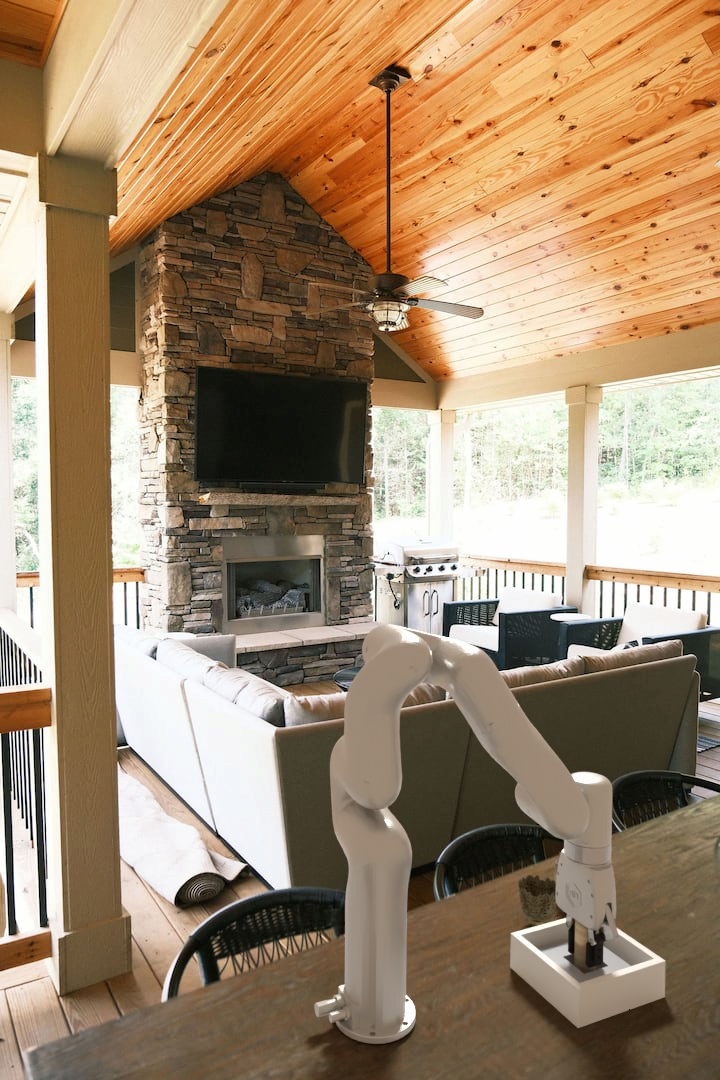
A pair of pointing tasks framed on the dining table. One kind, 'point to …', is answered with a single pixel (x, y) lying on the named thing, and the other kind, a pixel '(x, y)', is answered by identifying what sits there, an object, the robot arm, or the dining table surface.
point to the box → (593, 995)
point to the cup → (537, 899)
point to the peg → (581, 948)
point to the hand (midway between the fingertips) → (585, 956)
